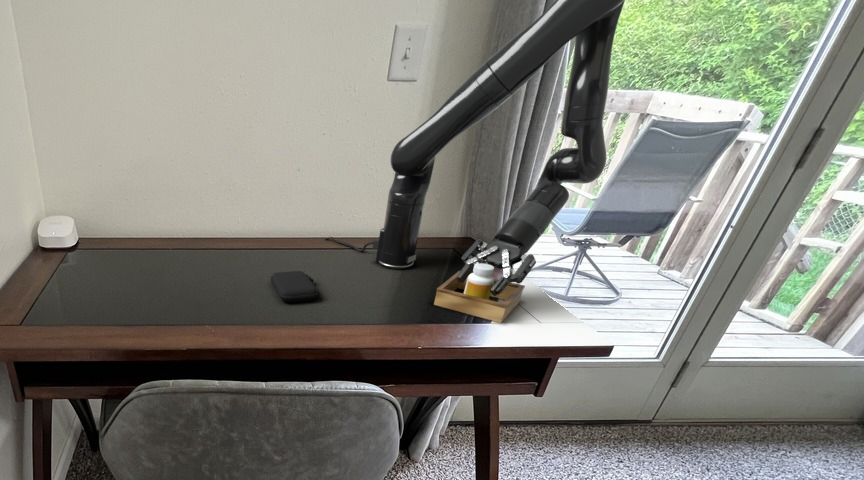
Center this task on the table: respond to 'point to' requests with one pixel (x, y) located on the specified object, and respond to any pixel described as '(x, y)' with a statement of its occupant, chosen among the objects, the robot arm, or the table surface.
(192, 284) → the table surface
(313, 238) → the table surface
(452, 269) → the table surface
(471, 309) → the wooden box frame
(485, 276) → the supplement bottle
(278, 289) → the carrying case
